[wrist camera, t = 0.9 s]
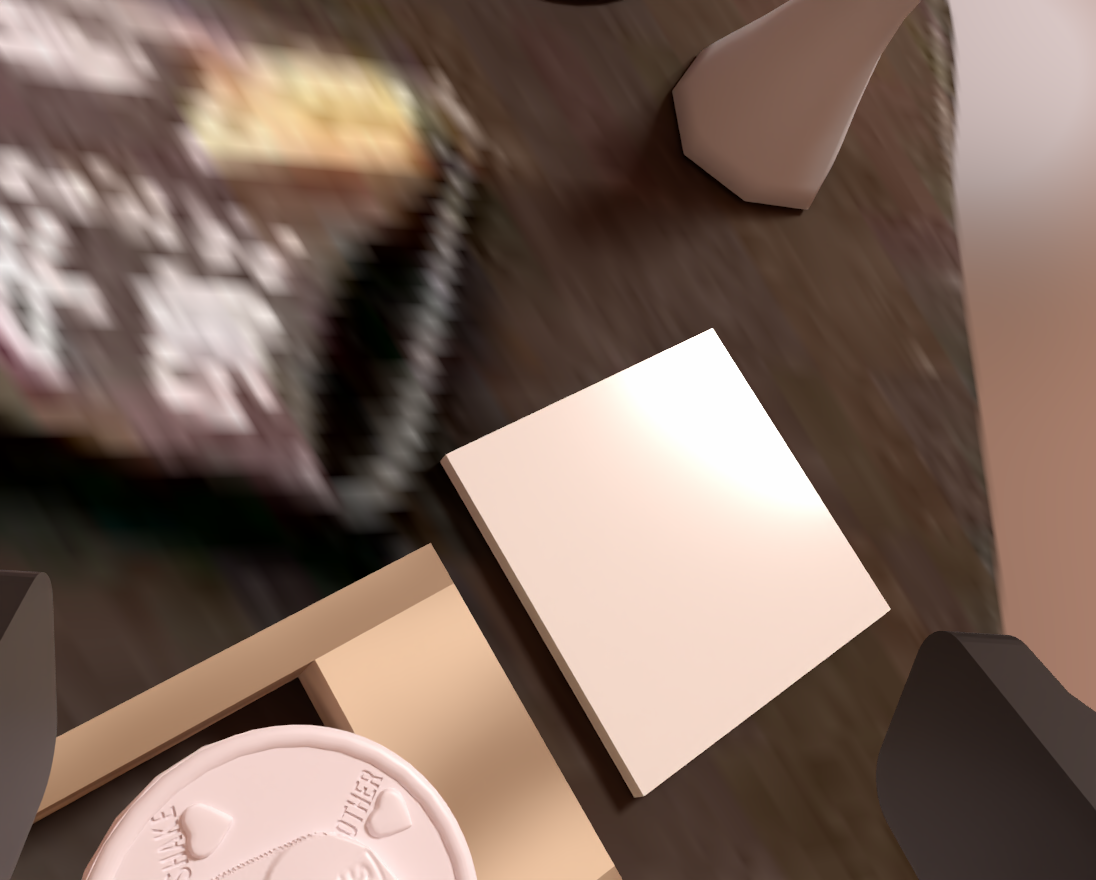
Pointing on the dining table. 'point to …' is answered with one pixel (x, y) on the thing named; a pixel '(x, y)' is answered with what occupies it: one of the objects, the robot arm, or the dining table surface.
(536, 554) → the ceramic pad
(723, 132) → the flask
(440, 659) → the collar
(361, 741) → the smoothie
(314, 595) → the dining table surface
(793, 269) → the dining table surface
